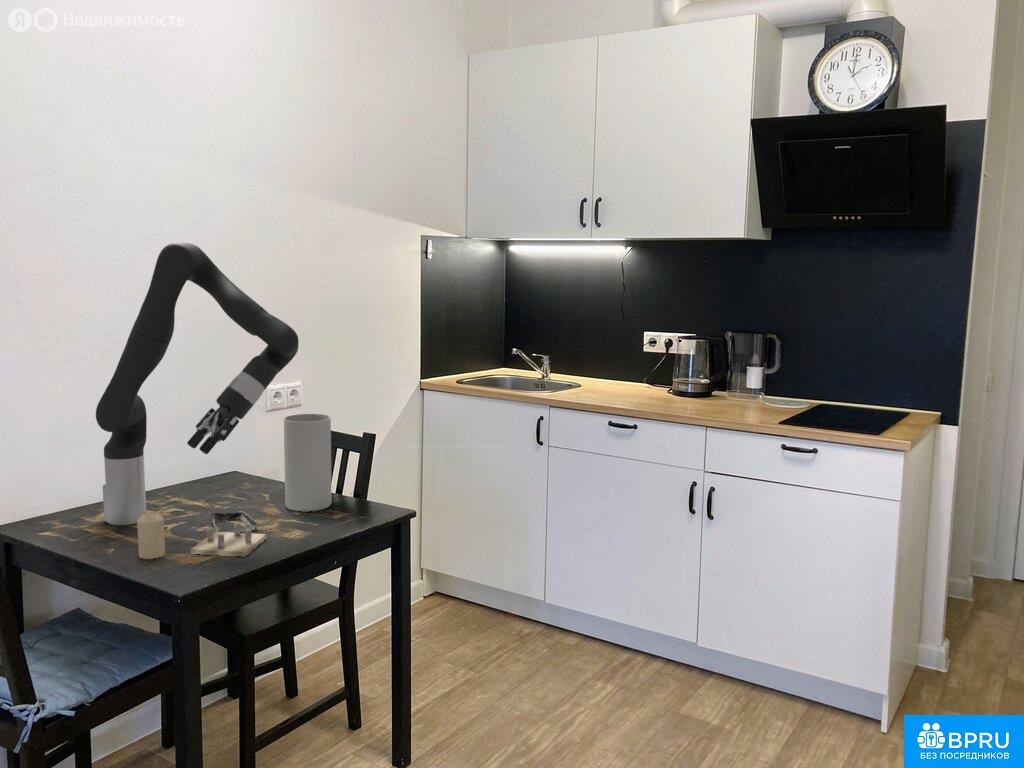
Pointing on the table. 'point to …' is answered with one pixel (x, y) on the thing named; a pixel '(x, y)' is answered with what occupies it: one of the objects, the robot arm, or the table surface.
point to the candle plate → (228, 543)
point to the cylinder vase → (307, 462)
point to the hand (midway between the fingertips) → (196, 449)
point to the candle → (151, 536)
